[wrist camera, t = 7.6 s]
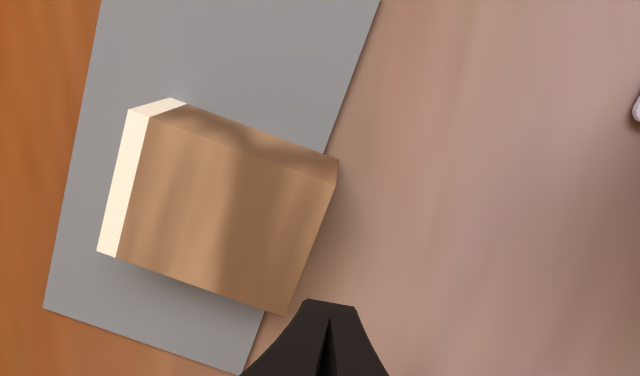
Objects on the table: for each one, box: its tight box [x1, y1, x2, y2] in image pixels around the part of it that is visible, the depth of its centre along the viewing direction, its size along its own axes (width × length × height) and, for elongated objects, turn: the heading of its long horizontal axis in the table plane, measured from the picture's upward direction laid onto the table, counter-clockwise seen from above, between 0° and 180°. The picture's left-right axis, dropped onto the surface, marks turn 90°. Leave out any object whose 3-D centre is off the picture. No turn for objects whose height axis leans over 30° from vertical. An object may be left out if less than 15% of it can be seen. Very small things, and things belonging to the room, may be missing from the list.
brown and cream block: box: [96, 98, 339, 317], centre depth 20 cm, size 4×6×8 cm
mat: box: [43, 0, 380, 376], centre depth 22 cm, size 11×20×1 cm, turn 160°
